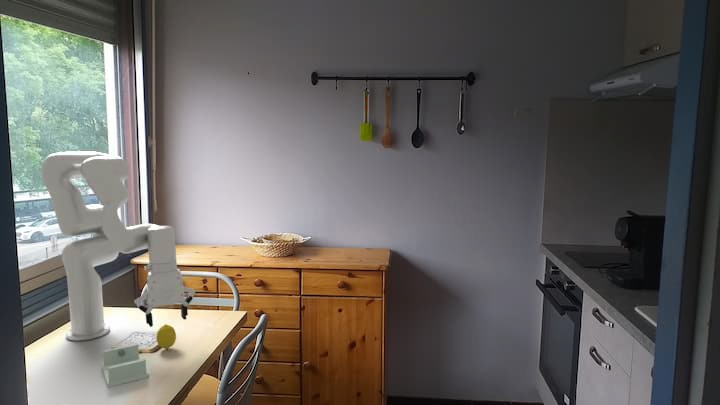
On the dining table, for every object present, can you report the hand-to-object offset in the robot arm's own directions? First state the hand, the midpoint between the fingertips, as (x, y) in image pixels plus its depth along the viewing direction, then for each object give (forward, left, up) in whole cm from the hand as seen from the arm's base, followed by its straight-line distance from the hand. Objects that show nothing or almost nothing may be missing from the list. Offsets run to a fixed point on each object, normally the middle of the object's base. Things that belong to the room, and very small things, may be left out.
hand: (167, 321), depth 145 cm
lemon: (-1, 0, -9) cm, 9 cm away
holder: (+8, -13, -9) cm, 18 cm away
